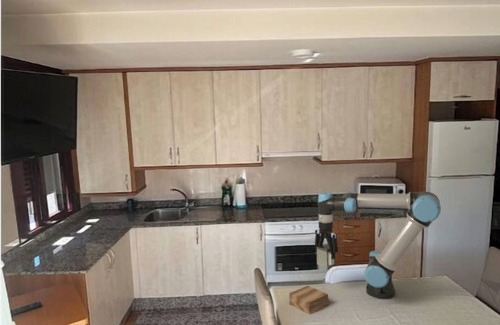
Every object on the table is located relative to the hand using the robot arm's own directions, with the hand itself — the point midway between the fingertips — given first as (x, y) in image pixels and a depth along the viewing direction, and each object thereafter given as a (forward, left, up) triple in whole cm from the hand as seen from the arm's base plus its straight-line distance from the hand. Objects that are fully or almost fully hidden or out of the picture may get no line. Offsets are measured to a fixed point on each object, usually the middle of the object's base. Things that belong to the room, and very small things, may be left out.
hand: (326, 262), depth 203 cm
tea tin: (0, 0, -1) cm, 1 cm away
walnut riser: (-2, +16, -18) cm, 24 cm away
